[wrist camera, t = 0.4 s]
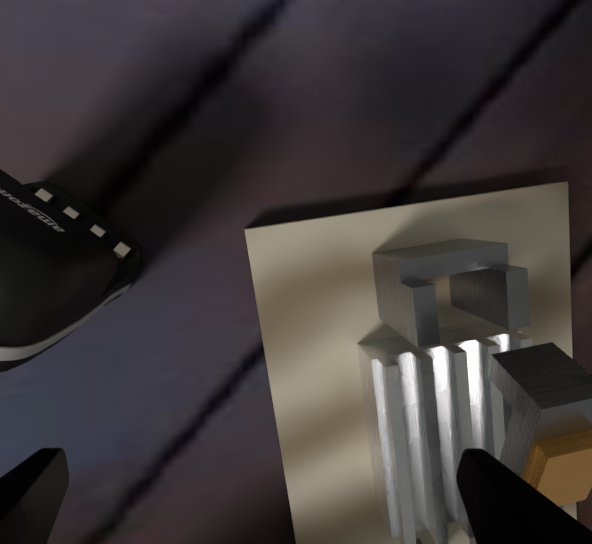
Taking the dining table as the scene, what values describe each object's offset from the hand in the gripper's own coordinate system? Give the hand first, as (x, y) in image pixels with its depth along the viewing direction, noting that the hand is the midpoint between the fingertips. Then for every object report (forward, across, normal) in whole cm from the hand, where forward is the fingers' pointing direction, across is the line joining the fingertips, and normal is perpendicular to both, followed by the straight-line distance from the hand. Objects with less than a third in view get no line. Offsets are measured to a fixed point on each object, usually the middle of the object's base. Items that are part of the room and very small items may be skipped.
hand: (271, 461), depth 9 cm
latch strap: (+6, -10, +8) cm, 14 cm away
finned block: (+11, -10, +8) cm, 17 cm away
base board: (+12, -10, +8) cm, 18 cm away
